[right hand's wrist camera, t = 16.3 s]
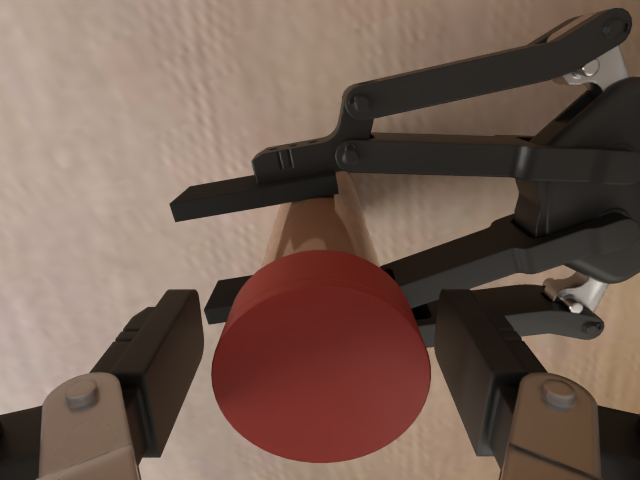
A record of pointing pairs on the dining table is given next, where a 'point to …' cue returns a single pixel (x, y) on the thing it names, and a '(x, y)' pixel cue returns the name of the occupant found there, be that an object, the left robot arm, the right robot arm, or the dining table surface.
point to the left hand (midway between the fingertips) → (200, 254)
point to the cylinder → (322, 225)
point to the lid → (321, 359)
